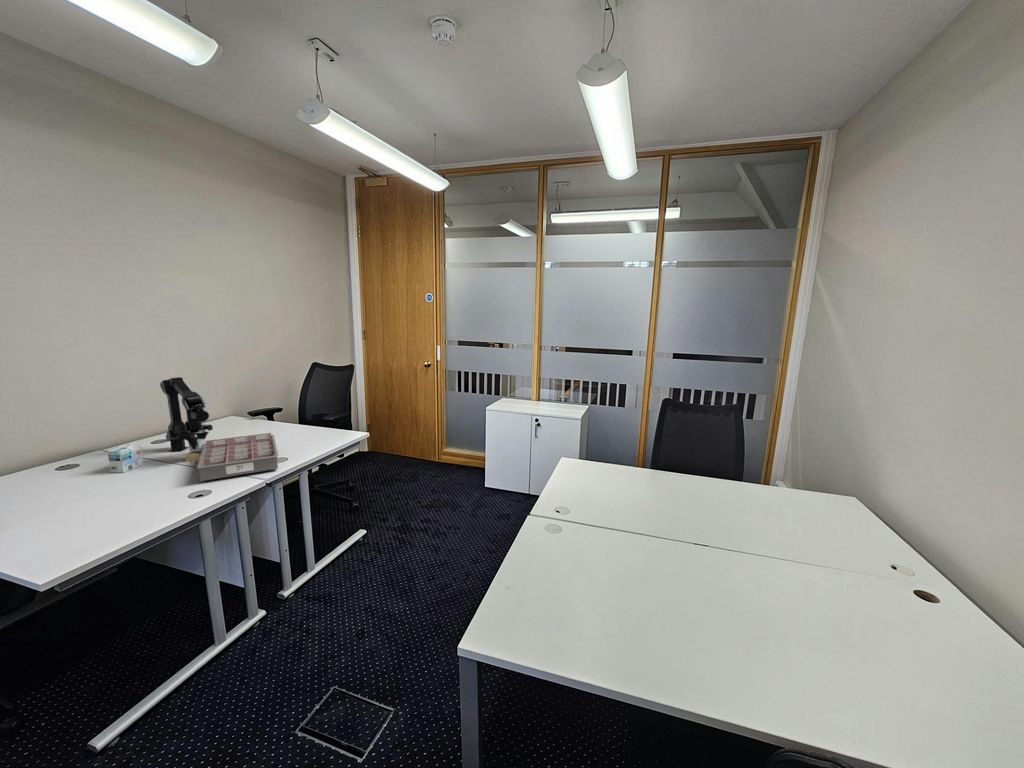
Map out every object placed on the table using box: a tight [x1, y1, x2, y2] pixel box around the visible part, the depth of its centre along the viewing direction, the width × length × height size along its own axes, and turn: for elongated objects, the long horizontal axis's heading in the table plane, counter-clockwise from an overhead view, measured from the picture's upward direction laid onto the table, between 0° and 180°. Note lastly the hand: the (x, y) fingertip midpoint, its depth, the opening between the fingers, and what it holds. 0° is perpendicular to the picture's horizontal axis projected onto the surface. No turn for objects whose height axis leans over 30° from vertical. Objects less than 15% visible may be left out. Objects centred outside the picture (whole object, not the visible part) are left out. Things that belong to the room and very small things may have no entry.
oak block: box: [184, 450, 202, 463], centre depth 217 cm, size 8×8×4 cm
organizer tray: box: [196, 432, 279, 482], centre depth 210 cm, size 32×40×10 cm
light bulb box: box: [107, 443, 144, 474], centre depth 201 cm, size 11×7×11 cm, turn 179°
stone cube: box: [187, 438, 206, 452], centre depth 216 cm, size 5×5×5 cm
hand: (197, 447), depth 216 cm, fingers closed on stone cube, 5 cm apart
